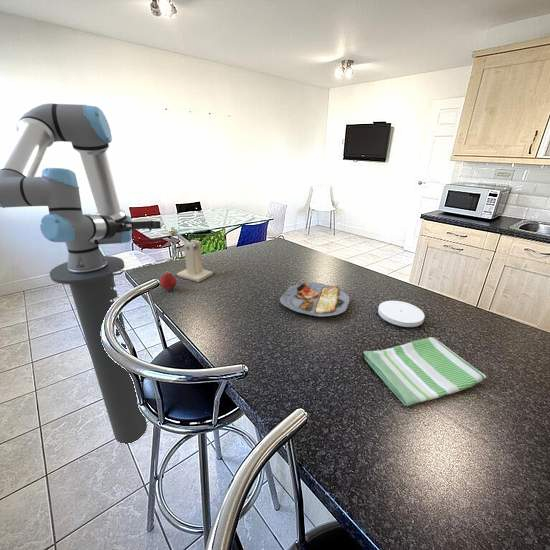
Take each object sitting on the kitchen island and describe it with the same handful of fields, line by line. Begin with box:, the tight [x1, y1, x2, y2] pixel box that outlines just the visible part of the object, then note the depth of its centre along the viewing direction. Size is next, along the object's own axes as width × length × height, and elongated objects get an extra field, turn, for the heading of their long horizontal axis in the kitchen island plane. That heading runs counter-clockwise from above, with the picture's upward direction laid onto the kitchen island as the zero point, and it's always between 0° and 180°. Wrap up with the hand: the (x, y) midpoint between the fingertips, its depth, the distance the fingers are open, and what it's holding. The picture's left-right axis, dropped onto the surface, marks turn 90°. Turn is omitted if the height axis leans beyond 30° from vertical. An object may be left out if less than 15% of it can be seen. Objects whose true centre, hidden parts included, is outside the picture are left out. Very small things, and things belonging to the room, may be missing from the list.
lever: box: [168, 226, 197, 250], centre depth 120 cm, size 14×4×4 cm, turn 62°
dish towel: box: [362, 336, 487, 407], centre depth 73 cm, size 18×23×3 cm
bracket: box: [176, 239, 214, 283], centre depth 121 cm, size 12×9×15 cm
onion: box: [159, 271, 177, 292], centre depth 109 cm, size 6×6×8 cm
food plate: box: [279, 282, 351, 317], centre depth 104 cm, size 25×23×4 cm
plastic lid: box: [377, 300, 425, 328], centre depth 96 cm, size 14×14×2 cm
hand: (144, 226), depth 111 cm, fingers open, 13 cm apart
